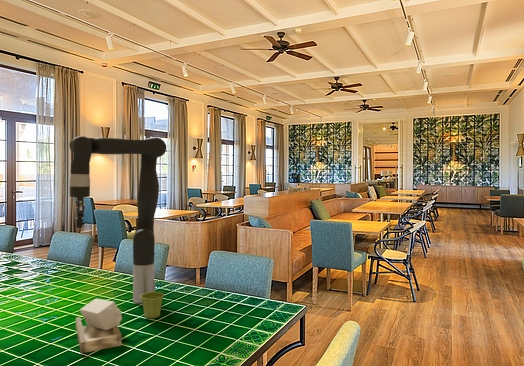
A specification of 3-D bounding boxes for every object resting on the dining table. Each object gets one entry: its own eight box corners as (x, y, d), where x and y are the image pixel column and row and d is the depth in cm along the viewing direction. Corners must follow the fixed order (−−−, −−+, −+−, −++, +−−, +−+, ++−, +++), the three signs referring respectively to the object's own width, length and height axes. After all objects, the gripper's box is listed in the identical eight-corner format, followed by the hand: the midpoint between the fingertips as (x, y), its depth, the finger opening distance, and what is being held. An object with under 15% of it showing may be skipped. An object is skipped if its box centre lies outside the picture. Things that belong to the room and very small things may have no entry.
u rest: (111, 320, 154) (111, 312, 154) (121, 345, 132) (121, 335, 132) (75, 326, 148) (75, 317, 148) (80, 353, 126) (80, 342, 126)
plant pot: (139, 313, 162) (139, 292, 162) (162, 310, 166) (162, 290, 166) (140, 321, 154) (141, 299, 154) (165, 318, 157) (165, 297, 157)
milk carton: (87, 325, 149) (111, 332, 136) (79, 309, 147) (102, 314, 134) (103, 313, 154) (128, 319, 141) (95, 298, 152) (120, 302, 140)
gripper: (91, 186, 155) (91, 229, 155) (88, 184, 166) (87, 225, 166) (70, 185, 151) (70, 230, 151) (68, 184, 162) (68, 225, 163)
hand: (79, 227), depth 159 cm, fingers closed
